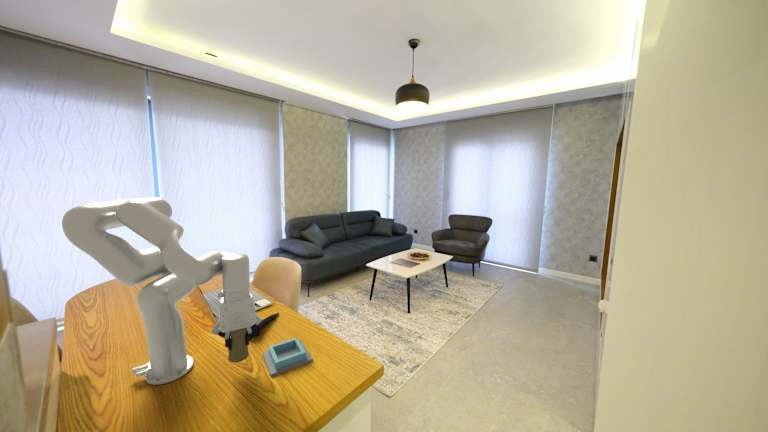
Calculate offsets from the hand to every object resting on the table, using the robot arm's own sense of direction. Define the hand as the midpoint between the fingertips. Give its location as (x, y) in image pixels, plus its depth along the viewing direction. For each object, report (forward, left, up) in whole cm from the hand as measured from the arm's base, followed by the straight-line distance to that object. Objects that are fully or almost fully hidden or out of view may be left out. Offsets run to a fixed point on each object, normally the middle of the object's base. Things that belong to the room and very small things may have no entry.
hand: (238, 345), depth 91 cm
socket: (+15, -2, -10) cm, 18 cm away
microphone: (+13, +23, -10) cm, 28 cm away
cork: (0, 0, -4) cm, 4 cm away
